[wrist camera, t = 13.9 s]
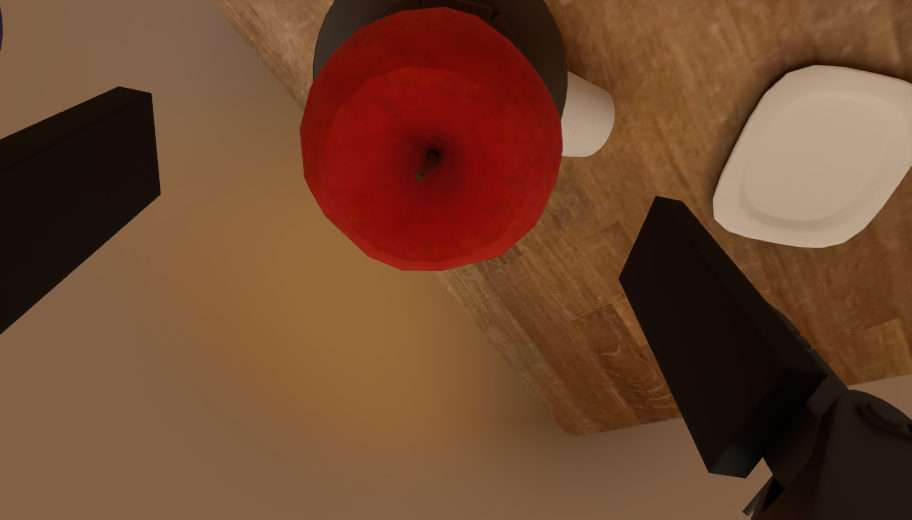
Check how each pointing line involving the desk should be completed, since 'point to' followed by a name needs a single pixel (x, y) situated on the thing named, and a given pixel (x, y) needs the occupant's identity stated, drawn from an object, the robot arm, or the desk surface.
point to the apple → (430, 140)
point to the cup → (585, 117)
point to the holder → (497, 3)
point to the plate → (817, 157)
